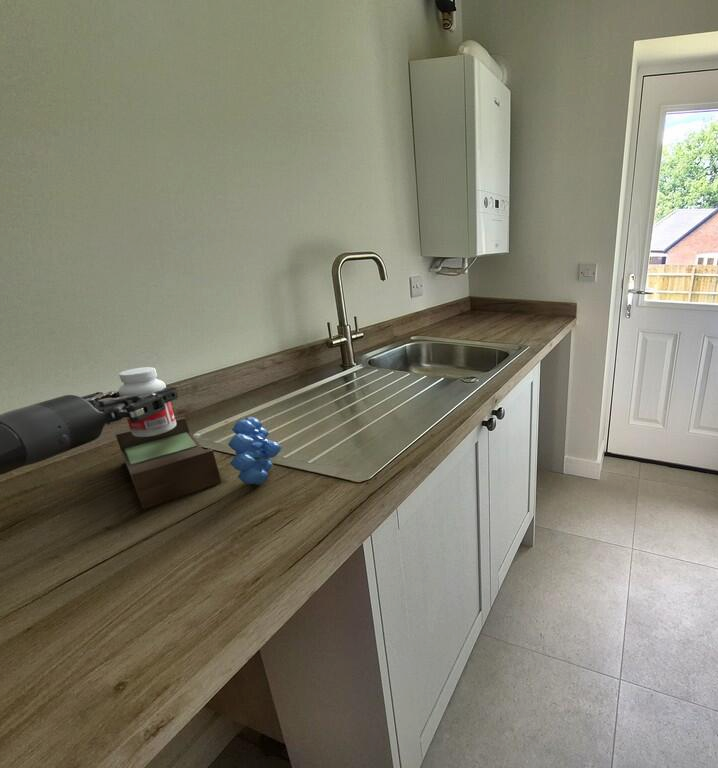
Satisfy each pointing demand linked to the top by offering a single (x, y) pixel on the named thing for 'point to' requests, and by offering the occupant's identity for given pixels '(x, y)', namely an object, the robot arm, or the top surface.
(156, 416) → the pill bottle
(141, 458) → the brown two-tone box
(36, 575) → the top surface
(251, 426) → the grapes
